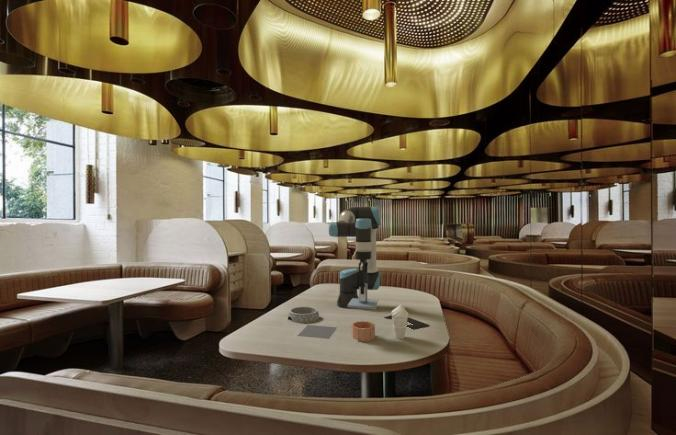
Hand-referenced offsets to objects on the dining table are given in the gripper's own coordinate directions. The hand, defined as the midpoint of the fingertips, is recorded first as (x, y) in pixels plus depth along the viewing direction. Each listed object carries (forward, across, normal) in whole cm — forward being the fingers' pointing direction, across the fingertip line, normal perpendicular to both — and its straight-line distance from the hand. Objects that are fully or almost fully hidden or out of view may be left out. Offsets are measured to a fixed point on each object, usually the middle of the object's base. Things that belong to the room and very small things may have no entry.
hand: (363, 299), depth 155 cm
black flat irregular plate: (+19, -28, +18) cm, 39 cm away
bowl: (+18, 0, 0) cm, 18 cm away
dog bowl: (+19, -20, -37) cm, 46 cm away
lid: (+3, 0, 0) cm, 3 cm away
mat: (+18, -1, -23) cm, 29 cm away
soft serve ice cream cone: (+19, -4, +17) cm, 25 cm away
